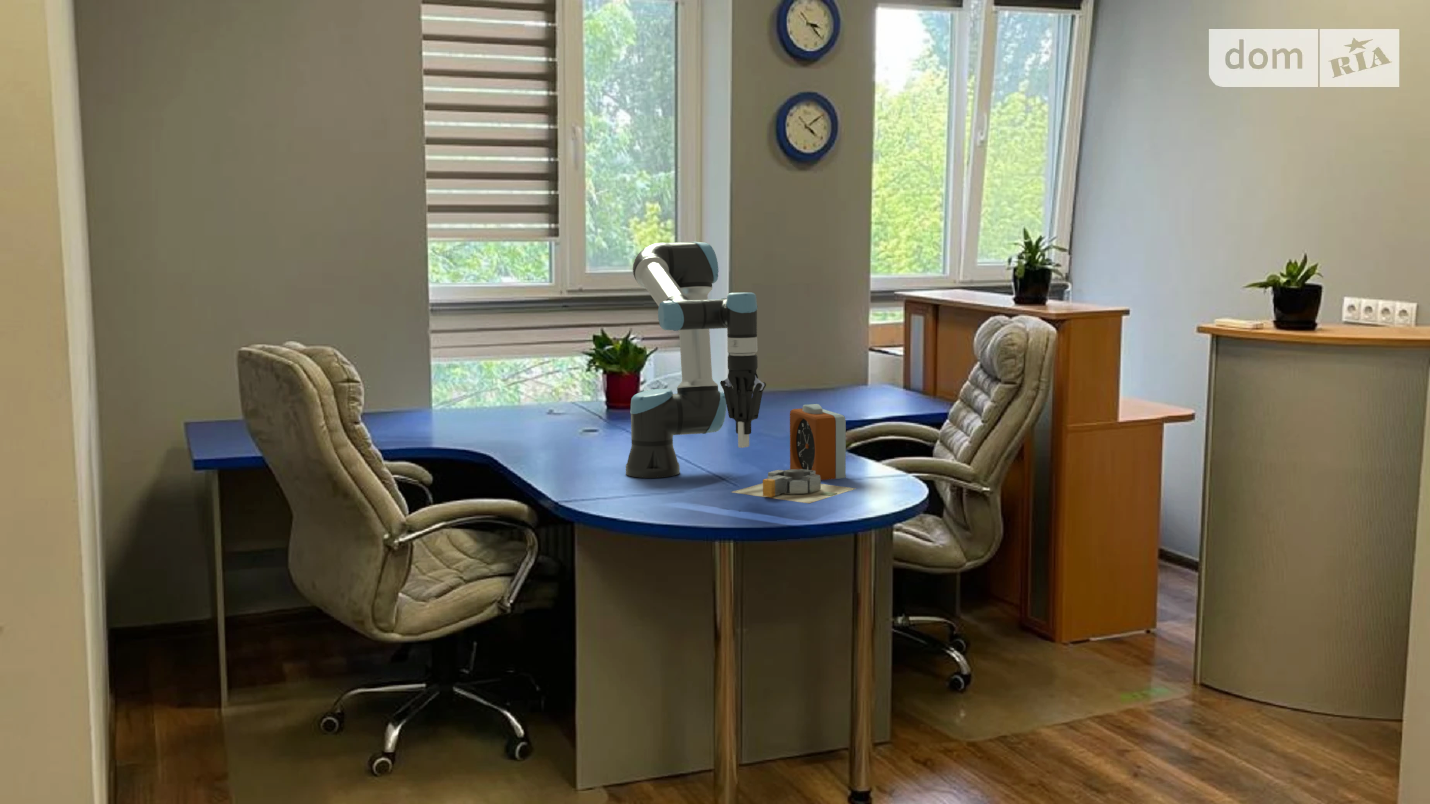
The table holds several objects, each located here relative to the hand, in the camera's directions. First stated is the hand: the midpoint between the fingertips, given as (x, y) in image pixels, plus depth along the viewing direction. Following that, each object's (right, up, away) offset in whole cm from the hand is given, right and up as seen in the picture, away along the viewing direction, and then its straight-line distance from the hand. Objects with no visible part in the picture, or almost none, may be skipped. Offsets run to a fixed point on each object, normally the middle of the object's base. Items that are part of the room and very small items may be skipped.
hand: (743, 446), depth 341 cm
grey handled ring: (+11, -11, +2) cm, 16 cm away
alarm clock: (+21, -10, +27) cm, 35 cm away
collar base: (+13, -13, +4) cm, 19 cm away
